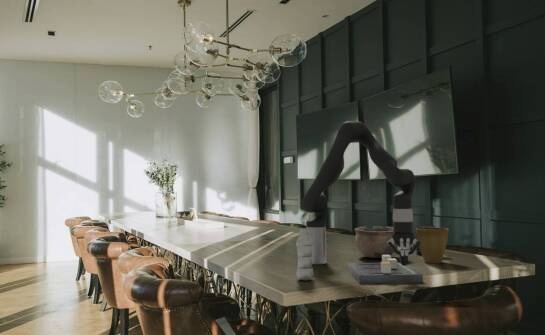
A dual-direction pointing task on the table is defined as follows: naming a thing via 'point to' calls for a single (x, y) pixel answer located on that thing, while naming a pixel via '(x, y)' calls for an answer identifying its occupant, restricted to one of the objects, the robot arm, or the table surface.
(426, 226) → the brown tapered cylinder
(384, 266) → the block
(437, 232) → the plant pot
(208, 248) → the table surface
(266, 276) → the table surface
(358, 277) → the breaker panel
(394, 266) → the block
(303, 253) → the plastic bottle
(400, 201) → the robot arm
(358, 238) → the ceramic bowl
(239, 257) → the table surface
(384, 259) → the breaker back
